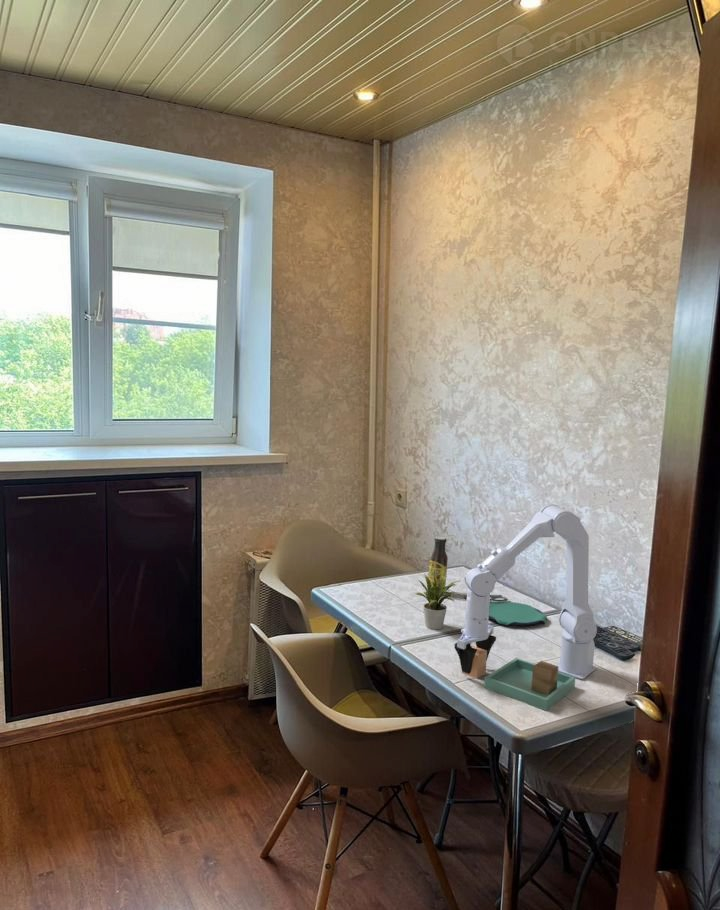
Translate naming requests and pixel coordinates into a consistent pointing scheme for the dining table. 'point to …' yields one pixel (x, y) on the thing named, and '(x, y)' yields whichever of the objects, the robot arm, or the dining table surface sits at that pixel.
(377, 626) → the dining table surface
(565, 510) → the robot arm
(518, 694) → the tray
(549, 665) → the walnut block
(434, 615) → the house plant
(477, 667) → the terracotta block
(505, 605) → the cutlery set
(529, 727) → the dining table surface
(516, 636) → the dining table surface
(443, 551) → the sauce bottle
